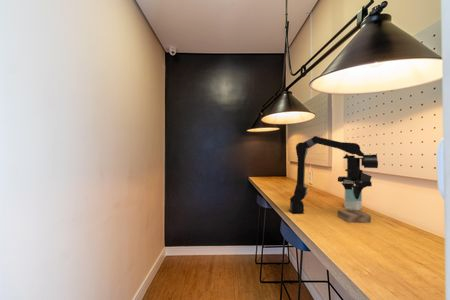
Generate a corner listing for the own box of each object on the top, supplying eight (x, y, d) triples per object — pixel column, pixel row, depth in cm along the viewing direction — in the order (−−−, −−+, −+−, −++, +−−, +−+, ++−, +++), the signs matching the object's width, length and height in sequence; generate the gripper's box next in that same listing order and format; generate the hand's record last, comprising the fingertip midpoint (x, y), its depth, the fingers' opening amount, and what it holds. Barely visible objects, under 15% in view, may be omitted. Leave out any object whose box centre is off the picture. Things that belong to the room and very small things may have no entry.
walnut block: (348, 223, 109) (348, 215, 109) (337, 217, 119) (337, 209, 119) (370, 223, 109) (370, 215, 109) (358, 217, 119) (358, 210, 119)
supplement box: (349, 206, 142) (349, 186, 142) (362, 208, 136) (362, 188, 136) (344, 208, 137) (344, 187, 137) (357, 210, 131) (357, 189, 131)
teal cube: (352, 201, 112) (352, 191, 112) (345, 199, 117) (345, 189, 117) (361, 200, 112) (361, 190, 112) (354, 198, 117) (354, 189, 117)
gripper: (382, 168, 106) (382, 201, 106) (356, 166, 124) (356, 194, 124) (360, 169, 105) (360, 202, 105) (337, 166, 124) (337, 194, 123)
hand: (353, 198), depth 114 cm, fingers closed on teal cube, 5 cm apart
